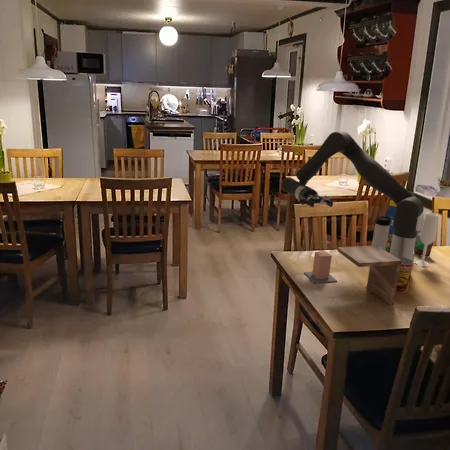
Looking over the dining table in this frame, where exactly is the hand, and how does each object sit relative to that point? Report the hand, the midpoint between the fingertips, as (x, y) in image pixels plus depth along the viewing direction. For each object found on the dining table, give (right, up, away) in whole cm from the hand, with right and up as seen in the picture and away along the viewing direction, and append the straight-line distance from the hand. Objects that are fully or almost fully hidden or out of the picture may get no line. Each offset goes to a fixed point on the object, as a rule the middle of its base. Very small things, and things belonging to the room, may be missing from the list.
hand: (322, 204), depth 189 cm
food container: (+54, -22, +33) cm, 67 cm away
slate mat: (-2, -30, -2) cm, 30 cm away
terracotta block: (-1, -30, -3) cm, 30 cm away
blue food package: (+42, -22, +32) cm, 57 cm away
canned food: (+28, -34, -8) cm, 45 cm away
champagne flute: (+50, -27, +19) cm, 59 cm away
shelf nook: (+11, -36, -17) cm, 41 cm away
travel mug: (+31, -24, +23) cm, 45 cm away
